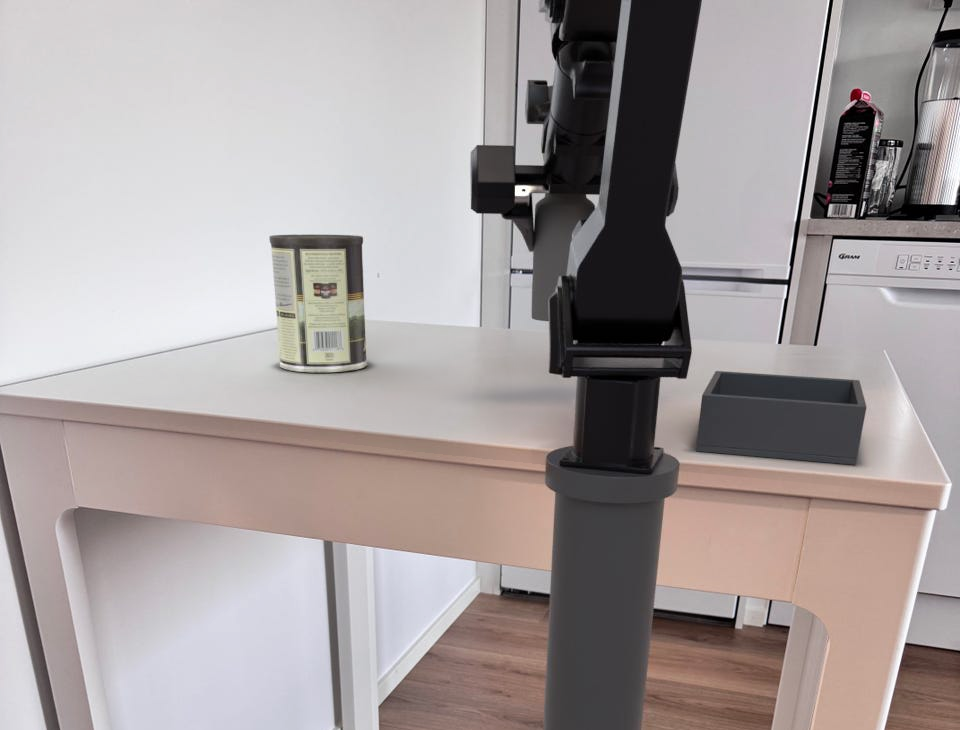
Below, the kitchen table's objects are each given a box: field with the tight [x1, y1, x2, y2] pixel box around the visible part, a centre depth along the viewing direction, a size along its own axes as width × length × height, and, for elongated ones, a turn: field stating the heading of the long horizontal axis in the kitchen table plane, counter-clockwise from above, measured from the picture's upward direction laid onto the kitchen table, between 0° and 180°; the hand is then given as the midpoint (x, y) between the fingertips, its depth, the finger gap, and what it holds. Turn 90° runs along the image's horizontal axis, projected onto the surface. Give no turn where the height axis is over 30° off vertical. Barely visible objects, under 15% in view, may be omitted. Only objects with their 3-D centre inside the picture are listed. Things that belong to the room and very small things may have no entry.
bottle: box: [531, 153, 596, 322], centre depth 93 cm, size 6×6×15 cm
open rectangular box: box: [695, 370, 867, 466], centre depth 79 cm, size 12×12×4 cm
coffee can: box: [269, 234, 368, 374], centre depth 108 cm, size 10×10×14 cm
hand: (561, 248), depth 94 cm, fingers closed on bottle, 6 cm apart
